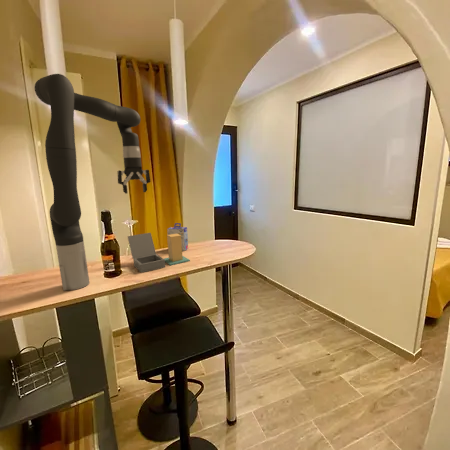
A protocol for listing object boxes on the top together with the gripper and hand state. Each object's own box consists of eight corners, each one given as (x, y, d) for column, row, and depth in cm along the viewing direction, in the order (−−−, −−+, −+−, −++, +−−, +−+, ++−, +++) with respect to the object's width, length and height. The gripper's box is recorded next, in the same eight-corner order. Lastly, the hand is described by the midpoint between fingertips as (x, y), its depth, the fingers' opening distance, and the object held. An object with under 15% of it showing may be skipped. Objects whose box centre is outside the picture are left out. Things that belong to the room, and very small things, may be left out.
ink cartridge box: (188, 248, 152) (187, 222, 149) (185, 251, 147) (183, 224, 144) (172, 247, 154) (170, 222, 151) (168, 250, 149) (166, 224, 146)
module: (172, 261, 128) (171, 237, 126) (168, 259, 132) (167, 235, 130) (182, 259, 131) (181, 235, 128) (178, 257, 135) (176, 233, 133)
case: (141, 272, 117) (140, 264, 117) (134, 265, 126) (133, 258, 126) (165, 267, 123) (164, 259, 122) (157, 260, 132) (156, 253, 132)
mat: (170, 265, 125) (170, 264, 125) (162, 260, 133) (162, 258, 133) (189, 261, 130) (189, 259, 130) (181, 256, 138) (181, 254, 138)
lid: (127, 235, 129) (127, 237, 130) (133, 258, 126) (132, 259, 127) (150, 232, 135) (149, 233, 136) (156, 253, 132) (155, 254, 133)
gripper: (117, 156, 117) (121, 194, 120) (150, 156, 125) (153, 192, 128) (113, 157, 123) (117, 193, 127) (145, 157, 131) (148, 191, 134)
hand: (135, 192), depth 127 cm, fingers open, 8 cm apart
